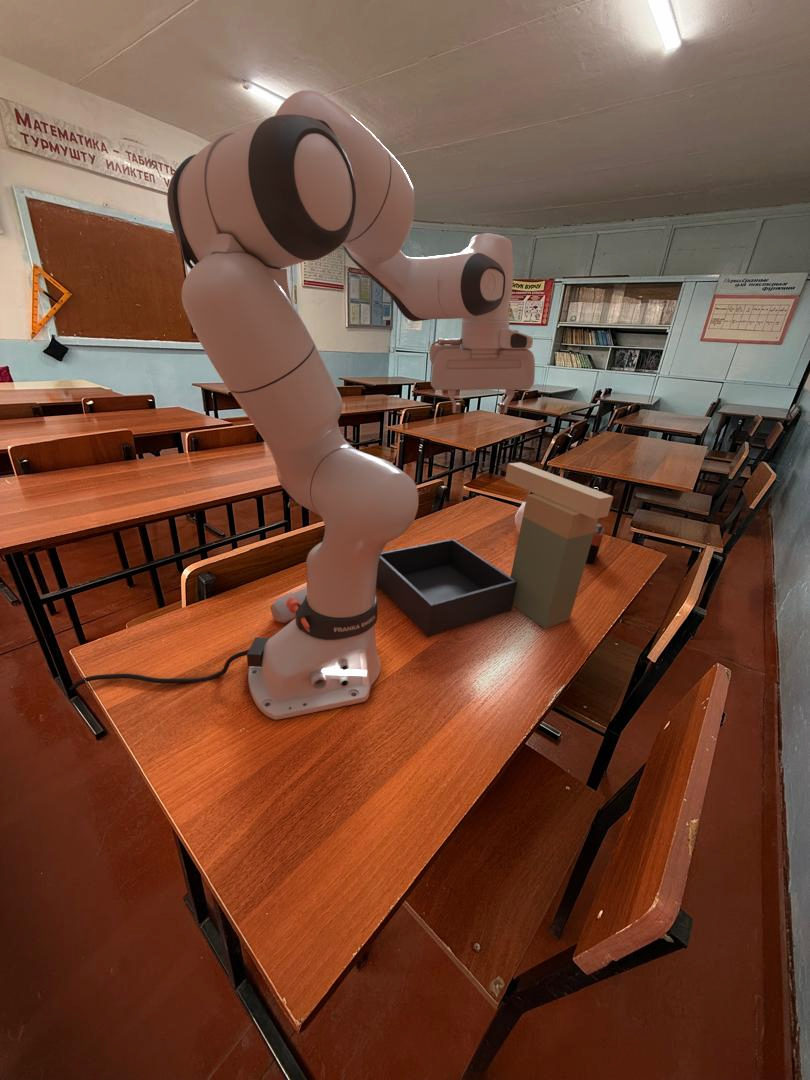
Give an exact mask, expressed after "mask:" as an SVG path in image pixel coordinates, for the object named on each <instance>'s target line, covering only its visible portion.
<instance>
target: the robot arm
mask: <svg viewBox="0 0 810 1080" xmlns="http://www.w3.org/2000/svg"><path fill="white" fill-rule="evenodd" d="M410 179H411V178H409V174H407V172H406V170H405V169H404V167H403V165H401V163H400V162H399V161H398V159H396V157H395V156H394V155H393V154H392V153H391V152H390V151H389V149H388V148H387V147H385V146H384V144H383V143H382V142H381V141H380V140H379V139H378V138H377V137H376V136H375V135H374V134H373V133H372V132H371V131H370V130H369V129H368V128H367V127H366V126H365V125H364V124H363V123H361V122H360V121H359V120H357V118H355V117H354V116H353V115H352V114H351V113H349V112H348V111H346V110H345V109H344V108H342V106H340V105H338V104H337V103H336V102H334V101H333V100H331V99H330V98H328V97H327V96H325V95H323V94H322V93H320V92H317V91H315V90H312V89H311V90H309V89H308V90H307V89H304V90H299V91H297V92H294V93H293V94H290V96H288V97H287V98H286V99H285V100H284V101H283V102H282V104H281V105H280V106H279V108H277V111H276V112H275V114H274V115H273V116H269V117H268V118H266V119H264V120H263V121H262V122H261V123H260V124H257V125H254V126H248V127H247V128H244V129H241V130H239V131H236V132H228V133H225V134H223V135H221V136H219V137H217V138H216V139H214V140H212V141H211V142H209V144H207V145H206V146H204V147H203V148H202V149H200V150H199V151H198V152H197V153H195V154H193V155H190V156H188V157H187V158H186V159H184V160H183V161H182V162H181V163H180V165H179V166H178V167H177V168H176V170H175V172H174V173H173V175H172V177H171V178H170V181H169V184H168V188H167V196H166V197H167V202H166V203H167V204H166V205H167V211H168V215H169V220H170V224H171V226H172V229H173V232H174V234H175V237H176V239H177V241H178V243H179V245H180V249H181V255H182V258H183V261H184V263H185V264H186V265H187V266H188V268H189V269H190V270H189V271H188V273H187V274H186V276H185V278H184V281H183V284H182V286H181V302H182V307H183V309H184V311H185V314H186V317H187V318H188V321H189V323H190V325H191V327H192V329H193V331H194V333H195V335H196V337H197V339H198V341H199V343H200V345H201V347H202V349H203V350H204V352H205V354H206V355H207V357H208V360H209V361H210V362H211V364H212V366H213V367H214V369H215V371H216V373H217V374H218V376H219V377H220V378H221V380H222V382H223V383H224V385H225V386H226V387H227V389H228V391H229V392H230V393H231V395H232V396H233V398H234V399H235V400H236V402H237V403H238V405H239V406H240V408H241V409H242V410H243V412H244V414H245V415H246V416H247V418H248V419H249V421H250V422H251V423H252V425H253V426H254V428H255V429H256V431H257V432H258V433H259V435H260V437H261V438H262V439H263V441H264V443H265V444H266V446H267V448H268V450H269V452H270V454H271V456H272V459H273V461H274V463H275V466H276V477H277V479H278V482H279V484H280V486H281V487H282V488H283V490H284V491H285V492H286V493H287V495H289V496H290V497H291V498H292V499H293V500H294V501H295V503H297V504H298V505H300V506H301V507H304V508H305V509H306V510H308V511H311V512H312V513H314V514H315V515H317V516H319V517H321V518H322V521H323V524H324V534H323V538H322V541H321V542H319V543H318V544H316V545H315V546H313V548H311V549H310V551H309V552H308V553H307V557H306V562H305V565H306V588H307V595H306V597H305V599H304V601H303V603H302V604H300V603H299V602H298V600H297V599H296V598H295V597H291V598H289V599H288V601H286V606H287V607H288V608H289V611H290V612H292V613H296V618H295V619H293V620H291V621H289V622H288V623H286V625H285V626H284V627H282V628H281V629H280V630H279V631H277V632H276V633H275V634H273V635H272V636H270V637H269V638H268V637H258V636H257V637H254V639H253V641H252V643H251V645H250V647H249V649H246V650H242V651H240V652H237V653H234V654H232V655H231V656H230V657H228V659H227V660H226V661H225V663H224V666H223V668H222V669H221V670H220V671H218V672H216V673H213V674H211V675H208V676H203V677H193V678H192V677H190V678H186V677H185V678H179V677H178V678H177V677H176V678H175V677H174V678H171V677H170V678H160V677H151V676H146V675H141V674H135V673H107V674H106V673H104V674H95V675H90V676H86V677H83V678H81V679H79V680H77V681H76V682H74V683H73V684H72V685H71V686H70V687H69V689H68V690H69V691H74V690H76V689H77V688H78V687H80V686H81V685H83V684H86V683H89V682H92V681H93V682H94V681H102V680H116V679H118V680H119V679H129V680H130V679H131V680H137V681H143V682H147V683H153V684H195V683H200V682H205V681H210V680H215V679H218V678H219V677H222V676H224V675H225V674H226V673H227V672H228V670H229V667H230V665H231V663H232V662H233V661H235V660H237V659H239V658H242V657H244V656H246V660H247V667H249V669H248V674H247V684H248V689H249V692H250V695H251V698H252V700H253V702H254V704H255V705H256V707H257V709H258V710H259V711H260V712H261V713H262V714H264V715H265V716H266V717H268V718H269V719H272V720H274V721H278V720H283V719H288V718H293V717H298V716H303V715H308V714H312V713H317V712H323V711H327V710H332V709H336V708H341V707H342V708H343V707H347V706H351V705H356V704H360V703H361V704H362V703H365V702H366V701H367V700H368V699H369V697H370V694H371V688H372V685H373V684H374V683H375V682H376V680H377V679H378V677H379V676H380V673H381V669H382V662H381V658H380V656H379V653H378V647H377V641H376V640H377V639H376V624H377V620H378V596H377V593H376V591H377V584H376V580H377V570H378V562H379V558H380V555H381V553H382V552H384V551H383V550H384V548H385V547H386V546H387V545H388V544H389V543H390V542H392V541H395V540H396V539H399V538H400V537H401V536H403V534H404V533H405V532H407V531H408V530H409V528H410V527H411V526H412V523H413V522H414V520H415V519H416V516H417V513H418V509H419V502H420V501H419V500H420V499H419V489H418V487H417V485H416V483H415V481H414V479H413V478H412V477H411V476H409V475H408V474H407V473H405V472H404V471H403V470H402V469H400V468H398V467H397V466H396V465H394V464H393V463H391V462H390V461H388V460H387V459H386V460H385V459H384V458H380V457H378V456H376V455H375V456H374V455H372V454H370V453H366V452H364V451H361V450H359V449H356V448H355V447H353V445H351V444H350V443H349V442H348V441H347V440H346V439H345V437H344V436H343V434H342V432H341V429H340V426H339V419H340V417H341V415H342V411H343V398H342V396H341V393H340V391H339V390H338V388H337V385H336V383H335V381H334V379H333V377H332V375H331V374H330V372H329V369H328V368H327V366H326V364H325V362H324V360H323V357H322V355H321V354H320V351H319V350H318V348H317V345H316V344H315V341H314V340H313V337H312V335H311V334H310V331H309V330H308V328H307V326H306V324H305V323H304V321H303V319H302V318H301V316H300V314H299V312H298V311H297V309H296V308H295V306H294V304H293V302H292V298H291V293H290V290H289V289H290V288H289V282H288V269H287V268H289V267H292V266H295V265H298V264H301V263H304V262H306V261H316V260H320V259H322V258H324V257H326V256H328V255H329V254H332V253H333V252H335V250H338V248H339V247H340V246H342V248H343V251H344V252H345V254H346V255H347V256H348V258H349V259H350V260H351V261H352V262H353V263H354V264H355V265H356V266H357V267H358V268H359V269H360V270H361V271H362V272H363V273H364V274H366V275H367V276H368V277H369V278H370V279H371V280H373V281H374V283H376V284H377V285H378V286H379V287H380V288H381V289H382V290H384V291H385V292H386V293H387V294H388V295H389V297H390V298H391V300H392V301H393V302H394V303H395V305H396V307H397V308H398V310H399V311H400V313H401V314H402V315H403V317H405V318H406V319H407V320H409V321H411V322H422V321H429V320H455V319H461V337H460V338H438V339H437V340H436V341H434V342H432V343H431V345H430V346H429V360H430V363H432V364H431V365H432V366H431V372H430V373H431V374H430V386H431V387H432V389H433V390H435V391H447V396H448V397H449V399H450V401H451V404H452V414H461V408H462V405H461V402H456V400H455V398H454V397H455V396H456V395H457V391H458V390H459V391H469V390H470V391H473V390H474V391H476V390H477V391H479V390H481V391H485V390H487V391H489V390H491V391H492V390H493V391H494V390H495V391H496V390H497V391H498V390H502V391H503V390H505V391H504V394H505V395H506V397H505V398H504V400H503V401H502V402H498V408H497V411H498V413H499V414H507V412H508V405H509V404H510V402H511V401H512V399H513V398H514V397H515V391H516V390H530V389H531V388H532V387H533V386H534V383H535V378H536V377H535V376H536V375H535V374H536V361H535V360H536V359H535V356H534V353H533V352H532V351H531V350H530V349H531V348H532V347H533V345H534V344H533V342H534V339H533V337H532V336H530V335H528V334H525V333H523V332H519V331H518V330H515V329H511V328H510V313H509V312H510V311H509V305H510V301H511V298H512V295H513V285H514V250H513V249H514V248H513V243H512V240H511V239H509V238H508V237H506V236H505V235H503V234H499V233H493V232H483V233H479V234H475V235H473V236H472V237H471V239H470V240H469V244H468V247H466V248H465V249H463V250H460V251H459V252H457V253H451V254H443V255H442V254H441V255H434V256H425V257H421V256H419V257H411V256H408V255H406V254H405V253H404V252H403V251H402V248H403V246H404V245H405V243H406V241H407V240H408V237H409V235H410V234H411V233H410V232H411V231H412V226H413V224H414V219H415V210H416V201H415V200H416V199H415V191H414V186H413V184H412V182H411V180H410ZM191 262H192V263H191ZM84 679H85V680H86V681H87V682H85V680H84Z"/></svg>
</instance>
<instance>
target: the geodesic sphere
mask: <svg viewBox="0 0 810 1080" xmlns="http://www.w3.org/2000/svg"><path fill="white" fill-rule="evenodd" d="M525 503H526V501H523V502H522V503H521V505H520V506H519V508H518V510H517V511H516V513H515V514H514V525H515V530H516V531H517V532H518V534H519V533H520V528H521V523H522V518H523V513H524V508H525Z"/></svg>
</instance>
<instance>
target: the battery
mask: <svg viewBox="0 0 810 1080" xmlns="http://www.w3.org/2000/svg"><path fill="white" fill-rule="evenodd" d="M604 533H605V527H603V526H602V525H601V524H600V523H597V525H596V528H595V532H594V535H593V539H592V542H591V546H590V549H589V553H588V556H587V560H586V563H588V564H591V565H593V564H595V562H596V560H597V556H598V553H599V550H600V547H601V543H602V540H603V537H604Z"/></svg>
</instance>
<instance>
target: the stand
mask: <svg viewBox="0 0 810 1080" xmlns="http://www.w3.org/2000/svg"><path fill="white" fill-rule="evenodd" d="M525 502H526V503H525V508H524V513H523V518H522V523H521V528H520V533H519V532H518V538H517V543H516V546H515V547H516V548H515V553H514V558H513V563H512V568H511V572H510V573H511V574H510V577H511V578H513V579H514V580H516V581H517V586H516V591H515V596H514V600H513V605H512V607H514V608H516V609H517V610H518V611H520V612H521V613H523V615H524V616H527V617H528V618H529V619H531V620H532V621H533V622H535V624H537V625H538V626H540V627H541V628H542V629H544V630H545V629H547V628H550V627H553V626H556V625H559V624H562V623H565V622H567V621H569V620H570V619H571V616H572V612H573V610H574V606H575V602H576V599H577V595H578V591H579V589H580V585H581V581H582V578H583V574H584V570H585V566H586V563H587V562H586V560H587V556H588V553H589V549H590V546H591V542H592V539H593V535H594V532H595V528H596V525H597V524H598V521H599V518H597V519H593V518H590V517H588V516H586V515H583V514H581V513H579V512H576V511H574V510H572V509H569V508H567V507H565V506H562V505H560V504H558V503H555V502H553V501H551V500H549V499H546V498H544V497H542V496H539V495H537V494H535V493H528V494H527V495H526V499H525Z"/></svg>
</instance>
